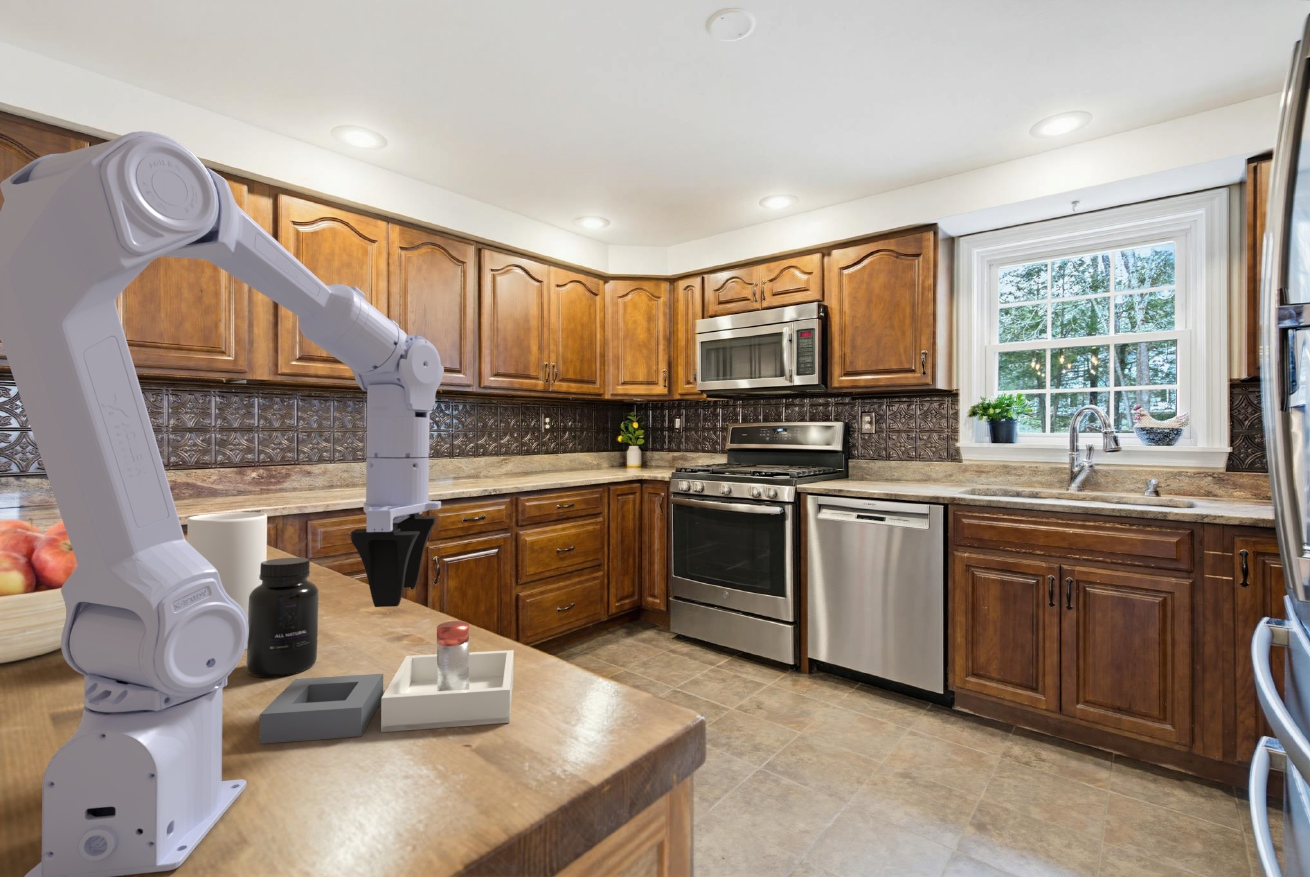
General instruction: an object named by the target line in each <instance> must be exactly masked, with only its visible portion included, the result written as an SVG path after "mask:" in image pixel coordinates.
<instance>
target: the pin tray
mask: <svg viewBox="0 0 1310 877" xmlns="http://www.w3.org/2000/svg"><path fill="white" fill-rule="evenodd" d="M514 653H515V650H514V649H511V650H510V649H509V650H493V651H492V650H491V651H490V650H488V651H474V652H473V651H471V652H470V651H469V689H467V690H451V691H437V653H435V654H416V655H415V654H413V655H406V656H405V658H404V660H403V661H402V663H401V664H400V666H399V667H398V670H397V671H396V672H395V675H394V676H393V678H392V680H391V681H390V683H389V685H388V686H387V688H386V690H385V691H384V692H383V696H382V698H381V703H380V707H381V709H380V711H381V713H380V714H381V717H380V718H381V719H380V720H381V721H380V722H381V723H380V724H381V725H380V732H381V733H387V732H388V733H389V732H401V731H403V732H405V731H414V730H415V731H416V730H429V729H430V730H431V729H440V728H441V729H443V728H455V727H456V728H457V727H468V726H481V725H482V726H483V725H496V724H508V723H510V722H511V721H510V720H511V711H512V699H513V698H512V697H513V687H514V678H515V677H514V669H515V668H514V667H515V665H514V661H515V660H514V659H515V658H514V657H515V654H514Z"/></svg>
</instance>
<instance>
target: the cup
mask: <svg viewBox="0 0 1310 877" xmlns="http://www.w3.org/2000/svg"><path fill="white" fill-rule="evenodd" d="M186 537H187V540H186V541H187V542H188V543H189V544H190V545H191V546H192V547H193V548H194V549H195V550H196V551H197V552H198V553H200V554H201V555H202V556H203V557H204V558H205V559H206V560H207V561H208V562H209V563H210V564H211V565H213V566H214V567H215V568H216V570H217V571H218V573H219V576H220V580H221V583H222V585H223V588H224V590H225V591H226V593H227V594H228V595H229V596H230V597H231V598H232V599H233V600H234V601H235V602H237V603H238V604H239V605H240V606H241V608H242V609H243V610H244V612H245V614H246V617H247V620H248V606H249V596H250V594H251V592H252V591H253V590H254V589H255V588H256V587H258V586H259V585H261V584H262V580H260V579H259V575H260V567H261V562H264V561H267V560H268V559H267V555H268V553H267V550H268V543H267V542H268V514H267V513H265V512H254V511H253V512H251V511H249V512H247V511H245V512H243V511H242V512H241V511H240V512H220V513H207V514H199V515H195V516H193V515H192V516H190V517H188V518H187V536H186ZM245 650H247V646H246V649H245Z"/></svg>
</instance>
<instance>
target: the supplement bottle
mask: <svg viewBox="0 0 1310 877" xmlns="http://www.w3.org/2000/svg"><path fill="white" fill-rule="evenodd" d="M310 566H311V565H310V559H309V558H306V557H283V558H282V557H279V558H274V559H273V558H272V559H267V561H264V562H261V567H260V575H259V579H260V580H262V584H261V585H259V586H258V587H256V588H255V589H254V590H253V591H252V592H251V594H250V596H249V606H248V626H249V635H248V641H247V649H246V670H247V672H248V673H249V674H250V675H252V676H254V677H260V678H278V677H284V676H290V675H294V674H295V675H296V674H298V673H302V672H304V671H307V670H309V669H310V668H312V667H313V666H314V665H315V663H317V662H316V661H317V658H318V635H319V634H318V633H319V632H318V631H319V589H318V587H317V585H316V584H314V583H313V582H311V581H310V580H308V577H310V575H311V571H310V568H311V567H310Z"/></svg>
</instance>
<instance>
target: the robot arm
mask: <svg viewBox="0 0 1310 877" xmlns="http://www.w3.org/2000/svg"><path fill="white" fill-rule="evenodd" d="M0 189H1V193H2V195H3V200H4V201H3V204H2V207H1V209H0V341H1V345H2V349H3V351H4V353H5V354H4V355H5V356H6V359H7V362H8V364H9V368H10V371H11V374H12V377H13V380H14V382H15V386H16V388H17V391H18V394H19V397H20V401H21V403H22V406H23V408H24V412H25V414H26V417H27V418H26V419H27V420H28V423H29V426H30V429H31V432H32V434H33V438H34V440H35V444H36V447H37V451H38V453H39V455H40V458H41V460H42V461H41V462H42V465H43V467H44V470H45V473H46V475H47V479H48V481H49V484H50V488H51V490H52V493H53V496H54V499H55V502H56V505H57V507H58V511H59V514H60V517H61V520H62V523H63V524H64V528H65V531H66V535H67V537H68V540H69V543H70V546H71V549H72V551H73V554H74V557H75V560H76V563H77V565H76V567H75V569H74V570H73V571H72V573H71V574H70V575H69V577H68V578H67V579H66V580H65V582H64V583H63V584H62V586H61V589H60V593H61V596H62V598H63V601H64V606H65V621H64V624H63V629H62V632H61V638H60V647H61V652H62V653H61V654H62V656H63V659H64V661H65V662H66V663H67V664H68V666H69V667H71V669H73V671H75V672H77V673H79V674H81V675H82V676H84V682H83V684H84V686H83V687H84V690H83V694H84V695H83V705H84V706H83V710H82V716H81V720H80V723H79V725H78V727H77V728H76V731H75V732H74V733H73V734H72V736H71V737H70V738H69V739H68V740H67V741H66V742H65V743H64V744H63V745H61V747H60V748H59V749H58V750H57V751H56V752H55V753H54V755H53V756H52V757H51V759H50V760H49V762H48V764H47V766H46V768H45V771H44V774H43V778H42V779H43V780H42V788H41V789H42V796H41V798H42V800H41V801H42V803H41V806H42V808H41V809H42V810H41V815H42V816H41V861H40V862H38V863H37V865H35V866H34V867H32V869H30V870H29V871H28V872H27V873H26V874H24V876H23V877H121V876H122V877H123V876H132V875H139V874H150V873H156V872H157V873H158V872H159V873H160V872H169V871H172V870H176V869H177V868H179V867H180V866H181V865H182V864H183V863H184V862H185V861H186V859H187V858H188V857H189V856H190V855H191V854H192V852H193V851H194V850H195V848H196V847H197V846H198V845H199V844H200V843H201V841H202V840H203V839H204V838H205V837H206V836H207V835H208V833H209V832H210V831H211V829H212V828H214V826H215V825H216V823H217V822H218V821H219V820H220V819H221V818H222V816H223V815H224V814H225V812H226V811H227V810H228V809H229V808H230V807H231V805H232V804H233V803H234V802H235V800H237V799H238V797H239V796H240V794H241V793H242V792H243V791H244V790H245V789H246V788H247V782H248V781H247V780H246V779H244V778H243V779H241V778H240V779H233V780H231V779H230V780H223V779H222V778H223V776H222V774H223V769H222V768H223V701H224V700H223V696H224V694H223V689H224V687H227V685H228V678H229V677H230V675H231V673H232V672H234V670H235V669H236V668H237V666H238V664H239V663H240V661H241V660H242V657H243V655H244V654H245V650H247V649H246V646H247V641H248V635H249V626H248V620H247V617H246V614H245V612H244V610H243V609H242V608H241V606H240V605H239V604H238V603H237V602H235V601H234V600H233V599H232V598H231V597H230V596H229V595H228V594H227V593H226V591H225V590H224V588H223V585H222V583H221V580H220V576H219V573H218V571H217V570H216V568H215V567H214V566H213V565H211V564H210V563H209V562H208V561H207V560H206V559H205V558H204V557H203V556H202V555H201V554H200V553H198V552H197V551H196V550H195V549H194V548H193V547H192V546H191V545H190V544H189V543H188V542H187V540H186V538H185V534H184V531H183V527H182V524H181V522H180V518H179V513H178V511H177V510H178V509H177V508H176V504H175V500H174V497H173V494H172V491H171V488H170V484H169V480H168V476H167V474H166V473H167V472H166V470H165V467H164V463H163V460H162V456H161V454H160V450H159V447H158V446H159V445H158V443H157V440H156V436H155V433H154V432H155V431H154V430H153V425H152V422H151V419H150V416H149V412H148V410H147V405H146V402H145V398H144V395H143V393H142V388H141V385H140V382H139V378H138V375H137V372H136V368H135V365H134V361H133V358H132V355H131V351H130V348H129V345H128V341H127V338H126V335H125V334H126V333H125V330H124V328H123V324H122V320H121V317H120V314H119V310H118V307H117V298H118V297H119V296H120V295H121V294H122V292H123V291H125V290H126V288H127V287H128V286H129V285H130V284H131V283H132V282H133V281H134V280H135V279H136V278H137V277H138V276H139V275H140V274H141V273H142V272H143V271H144V270H145V269H146V268H147V267H148V266H149V265H150V264H151V262H153V261H154V260H156V259H159V258H161V257H163V258H175V259H176V258H177V259H192V260H204V261H208V262H210V263H211V264H214V265H215V266H216V267H218V268H219V269H221V270H222V271H224V272H226V273H227V274H229V275H231V276H232V277H234V278H236V279H238V280H239V281H241V282H242V283H243V284H245V285H248V287H251V288H252V289H254V290H256V291H257V292H258V293H260V294H262V295H264V296H265V297H267V298H268V299H270V300H272V301H273V302H275V303H276V304H278V305H279V306H281V307H283V308H284V309H286V310H288V311H290V312H291V313H292V314H295V315H296V316H297V318H298V327H299V330H300V332H301V334H302V335H303V337H304V338H306V339H307V340H308V341H310V342H311V343H313V344H314V345H316V346H317V347H318V348H320V349H322V350H323V351H325V352H326V353H328V354H329V355H331V356H332V357H334V358H335V359H336V360H338V361H340V362H341V363H343V364H344V365H346V366H347V367H348V369H350V370H351V371H352V373H353V376H354V379H355V381H356V384H357V385H358V387H359V388H360V389H361V390H362V391H364V392H367V396H366V397H367V399H366V400H367V403H366V406H367V407H366V459H365V460H366V463H365V464H366V468H365V471H366V474H365V476H366V478H365V502H364V503H363V512H364V513H365V514H366V528H357V529H354V530H352V531H350V541H351V543H352V544H353V547H354V548H355V550H356V551H357V552H358V555H359V556H360V559H361V561H362V564H363V567H364V569H365V570H364V571H365V573H366V577H367V582H368V586H369V591H370V596H371V600H372V603H373V606H374V607H375V608H387V607H388V608H389V607H394V608H395V607H399V606H400V604H401V601H402V597H403V592H404V589H405V588H408V589H409V588H416V587H417V584H418V581H419V577H420V572H421V566H422V561H423V558H424V553H425V549H426V545H427V543H428V540H429V536H430V535H431V533H432V530H433V528H434V527H435V524H436V523H437V516H434V515H433V516H432V515H424V516H423V515H422V514H423V512H428V511H433V510H439V509H441V508H442V501H441V500H440V501H439V500H434V501H433V500H432V501H431V500H429V498H430V497H429V496H430V494H429V493H430V492H429V491H430V488H429V487H430V486H429V485H430V483H429V482H430V477H429V476H430V421H431V420H430V419H431V418H430V414H431V411H433V410H434V407H435V406H436V394H437V390H438V388H439V387H440V385H441V383H442V380H443V378H444V371H445V367H444V366H443V365H442V362H441V356H440V354H439V351H438V350H437V348H436V347H435V345H434V344H433V343H432V342H430V341H429V340H428V339H426V338H425V337H424V336H422V335H418V334H410V335H409V334H407V333H406V332H405V331H404V330H403V329H402V328H400V325H399V324H398V323H397V321H395V320H394V319H390V318H388V317H387V316H386V315H384V314H383V313H382V312H381V311H379V310H378V309H377V308H376V307H375V306H374V305H372V304H371V303H369V301H367V299H365V296H366V294H365V293H364V292H363V291H362V290H361V289H359V288H358V286H348V285H346V284H344V283H343V284H342V283H335V284H329V285H326V283H324V282H323V281H322V280H321V279H319V277H317V276H316V275H315V274H314V272H312V271H311V270H310V269H309V268H308V267H306V266H305V265H304V264H303V263H302V262H301V261H299V260H298V258H297V257H295V255H293V254H292V253H291V252H290V251H288V250H287V249H286V248H285V247H284V246H283V245H282V244H281V243H280V242H279V241H278V240H277V239H275V237H274V236H272V235H271V234H270V233H268V231H267V230H266V229H264V228H263V227H262V226H261V225H260V224H259V223H258V222H257V221H255V220H254V218H252V217H251V216H250V215H249V214H248V213H246V212H245V211H244V210H243V209H242V207H240V206H239V205H238V204H237V201H236V199H235V197H234V194H233V192H232V189H231V187H230V184H229V182H228V181H227V180H226V179H225V178H224V177H222V176H221V175H220V174H218V173H217V172H215V171H213V170H212V169H211V168H209V167H205V165H204V164H203V163H202V161H201V160H200V159H199V158H198V157H197V156H196V155H195V154H194V153H193V152H192V151H191V150H189V149H188V148H187V147H186V146H185V145H184V144H181V143H180V142H179V141H177V140H175V139H174V138H171V137H169V136H166V135H164V134H161V133H159V132H158V133H157V132H152V131H144V130H143V131H133V132H129V133H127V134H123V135H122V136H119V137H117V138H115V139H113V140H109V141H106V142H102V143H99V144H95V145H91V146H87V147H83V148H82V147H81V148H79V149H75V150H72V151H67V152H63V153H50V154H46V155H43V156H39V157H38V158H36V159H34V160H32V161H30V162H29V163H28V164H26V165H25V166H23V167H22V168H20V169H19V170H18V171H16V172H15V173H13V174H12V175H10V176H9V177H7V178H5V179H4V180H3V181H1V182H0ZM228 676H229V677H228Z"/></svg>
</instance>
